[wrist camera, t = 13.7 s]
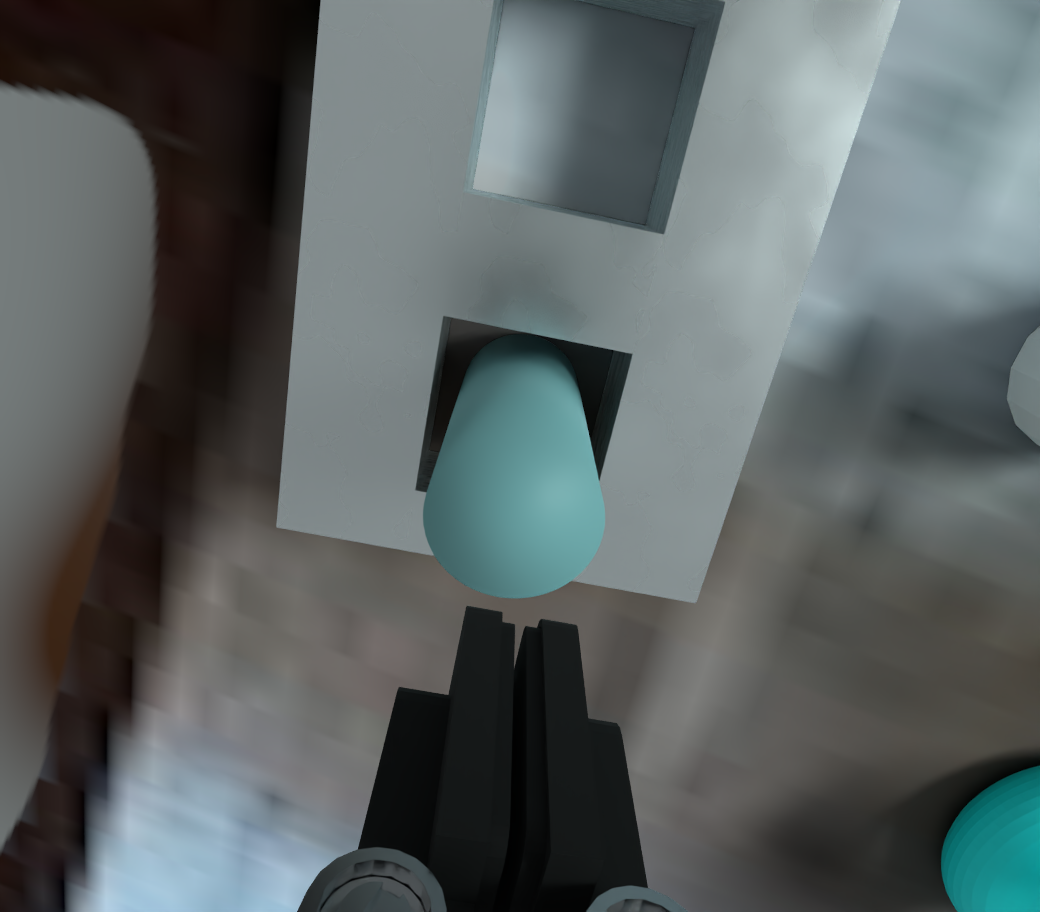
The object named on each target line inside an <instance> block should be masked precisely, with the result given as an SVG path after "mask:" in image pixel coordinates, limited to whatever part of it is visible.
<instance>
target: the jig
mask: <svg viewBox="0 0 1040 912" xmlns="http://www.w3.org/2000/svg"><path fill="white" fill-rule="evenodd" d="M503 1H504V0H321V3H320V15H319V27H318V39H317V51H316V63H315V74H314V86H313V98H312V110H311V122H310V134H309V146H308V158H307V170H306V181H305V193H304V205H303V217H302V229H301V241H300V253H299V265H298V276H297V288H296V300H295V312H294V324H293V336H292V348H291V360H290V372H289V383H288V395H287V407H286V419H285V431H284V443H283V455H282V467H281V479H280V490H279V502H278V514H277V526H276V527H277V528H283V529H288V530H294V531H299V532H305V533H310V534H316V535H321V536H327V537H333V538H338V539H344V540H349V541H355V542H360V543H366V544H371V545H377V546H382V547H388V548H393V549H399V550H404V551H410V552H415V553H421V554H427V555H432V556H434V554H433V552H432V550H431V548H430V546H429V544H428V541H427V538H426V535H425V530H424V525H423V507H424V501H425V496H426V492H427V489H428V486H429V483H430V480H431V477H432V474H433V471H434V468H435V465H436V462H437V459H438V456H439V453H440V452H436V451H431V450H430V444H431V438H432V432H433V426H434V420H435V414H436V408H437V402H438V395H439V389H440V383H441V377H442V371H443V365H444V359H445V353H446V347H447V341H448V335H449V329H450V323H451V317H452V318H457V319H462V320H467V321H472V322H476V323H481V324H486V325H491V326H496V327H501V328H506V329H511V330H516V331H521V332H526V333H531V334H536V335H541V336H546V337H551V338H556V339H561V340H566V341H571V342H576V343H581V344H586V345H591V346H596V347H601V348H606V349H611V350H614V352H613V355H612V359H611V363H610V367H609V371H608V375H607V379H606V383H605V387H604V391H603V395H602V399H601V403H600V407H599V411H598V415H597V419H596V423H595V427H594V431H593V435H592V439H591V446H592V451H593V455H594V460H595V465H596V469H597V474H598V478H599V483H600V488H601V492H602V497H603V501H604V508H605V527H604V532H603V537H602V540H601V543H600V546H599V548H598V550H597V552H596V554H595V556H594V557H593V559H592V560H591V562H590V563H589V564H588V566H587V567H586V568H585V569H584V570H583V571H582V572H581V573H580V574H579V575H578V576H577V577H575V578H574V579H573V580H572V581H576V582H581V583H587V584H592V585H598V586H603V587H609V588H614V589H620V590H626V591H631V592H637V593H642V594H648V595H653V596H659V597H664V598H670V599H675V600H681V601H686V602H692V603H696V601H697V599H698V596H699V593H700V590H701V587H702V584H703V581H704V578H705V575H706V572H707V569H708V566H709V563H710V560H711V557H712V554H713V552H714V549H715V546H716V543H717V540H718V537H719V534H720V531H721V528H722V525H723V522H724V519H725V516H726V513H727V510H728V507H729V505H730V502H731V499H732V496H733V493H734V490H735V487H736V484H737V481H738V478H739V475H740V472H741V469H742V466H743V463H744V460H745V458H746V455H747V452H748V449H749V446H750V443H751V440H752V437H753V434H754V431H755V428H756V425H757V422H758V419H759V416H760V413H761V410H762V408H763V405H764V402H765V399H766V396H767V393H768V390H769V387H770V384H771V381H772V378H773V375H774V372H775V369H776V366H777V363H778V361H779V358H780V355H781V352H782V349H783V346H784V343H785V340H786V337H787V334H788V331H789V328H790V325H791V322H792V319H793V316H794V314H795V311H796V308H797V305H798V302H799V299H800V296H801V293H802V290H803V287H804V284H805V281H806V278H807V275H808V272H809V269H810V267H811V264H812V261H813V258H814V255H815V252H816V249H817V246H818V243H819V240H820V237H821V234H822V231H823V228H824V225H825V222H826V220H827V217H828V214H829V211H830V208H831V205H832V202H833V199H834V196H835V193H836V190H837V187H838V184H839V181H840V178H841V175H842V172H843V170H844V167H845V164H846V161H847V158H848V155H849V152H850V149H851V146H852V143H853V140H854V137H855V134H856V131H857V128H858V125H859V123H860V120H861V117H862V114H863V111H864V108H865V105H866V102H867V99H868V96H869V93H870V90H871V87H872V84H873V81H874V78H875V76H876V73H877V70H878V67H879V64H880V61H881V58H882V55H883V52H884V49H885V46H886V43H887V40H888V37H889V34H890V31H891V29H892V26H893V23H894V20H895V17H896V14H897V11H898V8H899V5H900V2H901V0H576V1H581V2H585V3H589V4H594V5H598V6H602V7H607V8H611V9H615V10H620V11H624V12H628V13H633V14H637V15H641V16H646V17H650V18H654V19H659V20H663V21H667V22H672V23H676V24H680V25H685V26H689V27H693V28H695V31H694V35H693V39H692V43H691V47H690V51H689V55H688V58H687V62H686V66H685V70H684V74H683V78H682V82H681V86H680V90H679V94H678V98H677V102H676V106H675V110H674V114H673V118H672V122H671V126H670V130H669V134H668V138H667V142H666V146H665V150H664V154H663V157H662V161H661V165H660V169H659V173H658V177H657V181H656V185H655V189H654V193H653V197H652V201H651V205H650V209H649V213H648V217H647V221H646V225H641V224H636V223H631V222H627V221H622V220H617V219H612V218H608V217H603V216H598V215H594V214H589V213H584V212H580V211H575V210H570V209H565V208H561V207H556V206H551V205H547V204H542V203H537V202H533V201H528V200H523V199H518V198H514V197H509V196H504V195H500V194H495V193H490V192H486V191H481V190H476V189H473V183H474V177H475V171H476V165H477V159H478V153H479V147H480V141H481V135H482V129H483V123H484V117H485V110H486V104H487V98H488V92H489V86H490V80H491V74H492V68H493V62H494V56H495V50H496V44H497V38H498V32H499V26H500V19H501V13H502V7H503Z"/></svg>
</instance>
